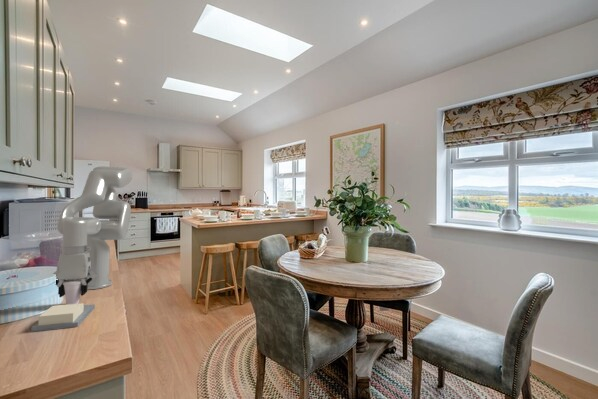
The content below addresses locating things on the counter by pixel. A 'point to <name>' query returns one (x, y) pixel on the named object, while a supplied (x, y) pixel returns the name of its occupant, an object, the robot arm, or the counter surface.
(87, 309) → the base board
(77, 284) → the smoothie
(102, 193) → the robot arm
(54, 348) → the counter surface
